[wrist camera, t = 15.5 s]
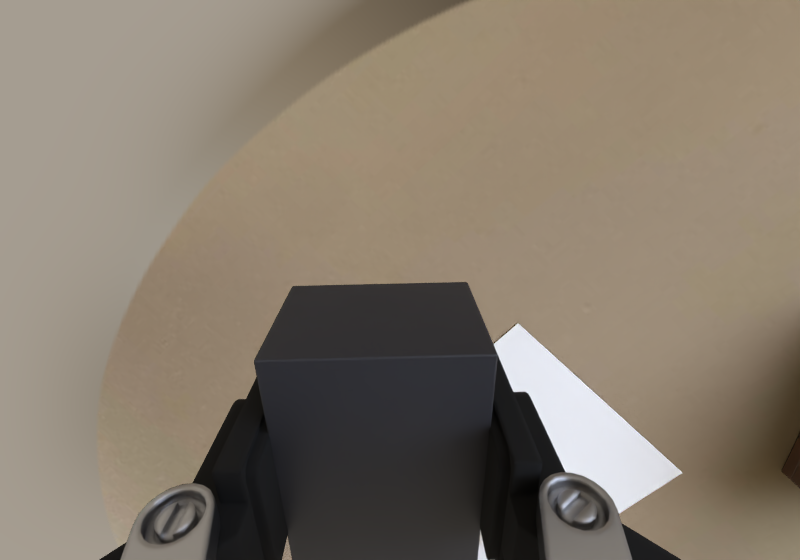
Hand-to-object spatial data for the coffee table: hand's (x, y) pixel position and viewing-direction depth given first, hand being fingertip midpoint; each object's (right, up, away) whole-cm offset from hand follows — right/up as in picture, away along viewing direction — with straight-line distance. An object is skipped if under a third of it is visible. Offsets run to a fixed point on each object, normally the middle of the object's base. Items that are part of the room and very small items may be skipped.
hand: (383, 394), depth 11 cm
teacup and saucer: (+8, -12, +21) cm, 26 cm away
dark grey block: (0, 0, 0) cm, 0 cm away
